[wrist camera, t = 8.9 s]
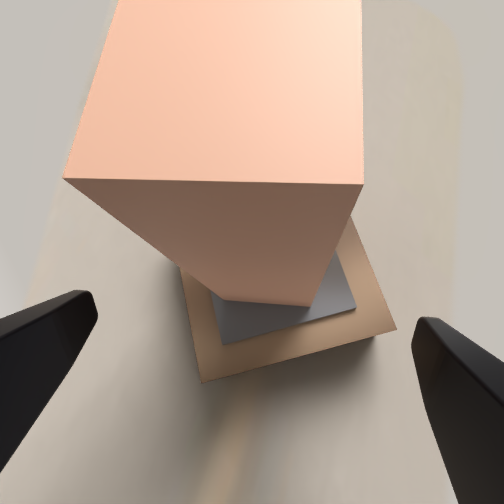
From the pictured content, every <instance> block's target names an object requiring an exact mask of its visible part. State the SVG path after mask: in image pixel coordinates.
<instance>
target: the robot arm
mask: <svg viewBox="0 0 504 504" xmlns="http://www.w3.org/2000/svg"><path fill="white" fill-rule="evenodd" d="M97 319H98V312H97V309H96V306H95V302H94V299H93V296H92V294H91V293H90V292H89V291H85V290H73V291H71V292H68V293H66V294H63V295H60V296H58V297H55V298H53V299H50V300H47V301H45V302H42V303H40V304H37V305H35V306H32V307H29V308H27V309H24V310H22V311H19V312H16V313H14V314H11V315H9V316H6V317H4V318H1V319H0V473H1V471H2V470H3V468H4V467H5V465H6V464H7V463H8V461H9V460H10V458H11V457H12V455H13V454H14V452H15V451H16V449H17V448H18V446H19V445H20V443H21V442H22V440H23V439H24V437H25V436H26V434H27V433H28V431H29V430H30V428H31V427H32V425H33V424H34V423H35V421H36V420H37V418H38V417H39V415H40V414H41V412H42V411H43V409H44V408H45V406H46V405H47V403H48V402H49V400H50V399H51V397H52V396H53V394H54V393H55V391H56V390H57V388H58V387H59V385H60V384H61V383H62V381H63V380H64V378H65V377H66V375H67V374H68V372H69V370H70V369H71V367H72V366H73V364H74V362H75V360H76V359H77V357H78V355H79V353H80V351H81V349H82V348H83V346H84V344H85V342H86V340H87V338H88V337H89V335H90V333H91V331H92V329H93V327H94V326H95V324H96V322H97ZM411 349H412V354H413V359H414V363H415V367H416V372H417V376H418V380H419V385H420V389H421V393H422V398H423V402H424V406H425V409H426V412H427V416H428V419H429V422H430V424H431V427H432V430H433V433H434V436H435V439H436V441H437V444H438V447H439V450H440V453H441V456H442V458H443V461H444V464H445V467H446V470H447V473H448V475H449V478H450V481H451V484H452V487H453V490H454V492H455V495H456V498H457V501H458V504H504V362H502V361H501V360H499V359H498V358H496V357H495V356H493V355H492V354H490V353H489V352H488V351H486V350H485V349H483V348H482V347H480V346H479V345H477V344H476V343H474V342H473V341H471V340H470V339H468V338H467V337H465V336H464V335H463V334H461V333H460V332H458V331H457V330H455V329H454V328H452V327H451V326H449V325H448V324H447V323H445V322H444V321H442V320H441V319H439V318H435V317H420V318H419V319H418V321H417V324H416V328H415V331H414V335H413V339H412V343H411Z"/></svg>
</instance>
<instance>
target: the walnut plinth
mask: <svg viewBox="0 0 504 504" xmlns="http://www.w3.org/2000/svg"><path fill="white" fill-rule="evenodd" d="M180 273H181V278H182V283H183V289H184V294H185V300H186V305H187V310H188V316H189V321H190V326H191V332H192V337H193V342H194V348H195V353H196V358H197V364H198V369H199V374H200V380H201V383H205V382H209V381H212V380H216V379H220V378H223V377H227V376H230V375H234V374H238V373H241V372H245V371H249V370H252V369H256V368H260V367H263V366H267V365H270V364H274V363H278V362H281V361H285V360H289V359H292V358H296V357H300V356H303V355H307V354H310V353H314V352H318V351H321V350H325V349H329V348H332V347H336V346H340V345H343V344H347V343H350V342H354V341H358V340H361V339H365V338H369V337H372V336H376V335H380V334H383V333H387V332H390V331H394V330H397V328H396V326H395V323H394V321H393V318H392V316H391V313H390V311H389V309H388V306H387V304H386V301H385V299H384V296H383V294H382V291H381V289H380V287H379V284H378V282H377V279H376V277H375V274H374V272H373V269H372V267H371V265H370V262H369V260H368V257H367V255H366V252H365V250H364V247H363V245H362V243H361V240H360V238H359V235H358V233H357V230H356V228H355V226H354V223H353V221H352V218H351V216H350V217H349V219H348V222H347V224H346V226H345V229H344V231H343V233H342V235H341V238H340V240H339V242H338V245H337V247H336V249H335V252H334V254H333V256H332V258H331V261H330V263H329V265H328V268H327V270H326V272H325V275H324V277H323V279H322V281H321V284H320V286H319V288H318V291H317V293H316V295H315V298H314V300H313V302H312V305H311V307H306V306H293V305H281V304H268V303H256V302H243V301H231V300H223V299H222V298H220V297H219V296H218V295H216V294H215V293H214V292H212V291H211V290H210V289H208V288H207V287H206V286H205V285H203V284H202V283H201V282H199V281H198V280H197V279H195V278H194V277H193V276H191V275H190V274H189V273H187V272H186V271H185V270H183V269H182V268H181V267H180Z"/></svg>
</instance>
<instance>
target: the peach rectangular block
mask: <svg viewBox="0 0 504 504" xmlns="http://www.w3.org/2000/svg"><path fill="white" fill-rule="evenodd" d="M62 178H63V179H64V180H66V181H67V182H68V183H70V184H71V185H72V186H74V187H75V188H76V189H77V190H79V191H80V192H81V193H83V194H84V195H85V196H87V197H88V198H89V199H91V200H92V201H93V202H95V203H96V204H97V205H99V206H100V207H101V208H103V209H104V210H105V211H107V212H108V213H109V214H111V215H112V216H113V217H115V218H116V219H117V220H119V221H120V222H121V223H122V224H124V225H125V226H126V227H128V228H129V229H130V230H132V231H133V232H134V233H136V234H137V235H138V236H140V237H141V238H142V239H144V240H145V241H146V242H148V243H149V244H150V245H152V246H153V247H154V248H156V249H157V250H158V251H160V252H161V253H162V254H163V255H165V256H166V257H167V258H169V259H170V260H171V261H173V262H174V263H175V264H177V265H178V266H179V267H181V268H182V269H183V270H185V271H186V272H187V273H189V274H190V275H191V276H193V277H194V278H195V279H197V280H198V281H199V282H201V283H202V284H203V285H205V286H206V287H207V288H208V289H210V290H211V291H212V292H214V293H215V294H216V295H218V296H219V297H220V298H222V299H223V300H231V301H243V302H256V303H268V304H281V305H293V306H306V307H311V305H312V302H313V300H314V298H315V295H316V293H317V291H318V288H319V286H320V284H321V281H322V279H323V277H324V275H325V272H326V270H327V268H328V265H329V263H330V261H331V258H332V256H333V254H334V252H335V249H336V247H337V245H338V242H339V240H340V238H341V235H342V233H343V231H344V229H345V226H346V224H347V222H348V219H349V217H350V215H351V212H352V210H353V208H354V206H355V203H356V201H357V199H358V196H359V194H360V192H361V189H362V187H363V185H364V169H363V98H362V26H361V0H119V1H118V4H117V7H116V10H115V13H114V16H113V19H112V23H111V26H110V29H109V32H108V35H107V38H106V41H105V44H104V48H103V51H102V54H101V57H100V60H99V63H98V66H97V70H96V73H95V76H94V79H93V82H92V85H91V88H90V91H89V95H88V98H87V101H86V104H85V107H84V110H83V113H82V117H81V120H80V123H79V126H78V129H77V132H76V135H75V138H74V142H73V145H72V148H71V151H70V154H69V157H68V160H67V164H66V167H65V170H64V173H63V176H62Z"/></svg>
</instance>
